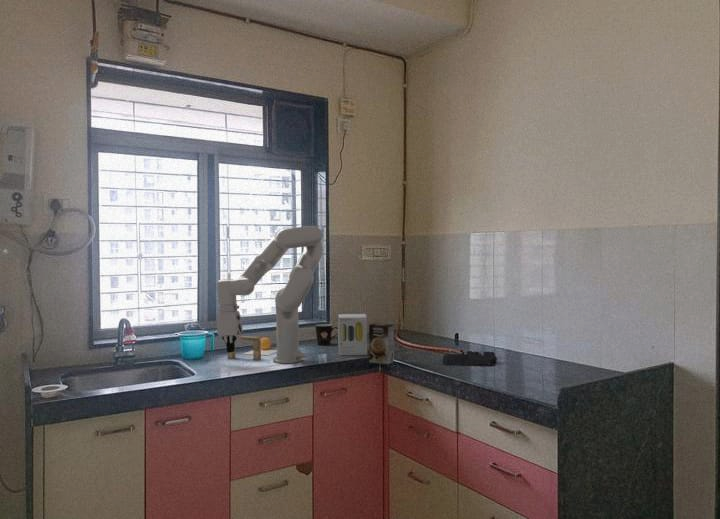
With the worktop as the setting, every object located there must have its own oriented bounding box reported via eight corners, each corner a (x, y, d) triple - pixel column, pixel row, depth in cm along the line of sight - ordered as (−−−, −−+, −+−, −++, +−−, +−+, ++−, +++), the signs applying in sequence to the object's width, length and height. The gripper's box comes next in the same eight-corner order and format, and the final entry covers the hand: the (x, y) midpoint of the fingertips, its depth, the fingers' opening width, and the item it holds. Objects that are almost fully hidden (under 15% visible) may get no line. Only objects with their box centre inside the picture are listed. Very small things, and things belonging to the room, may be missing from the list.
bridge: (231, 357, 235) (231, 335, 235) (260, 358, 230) (260, 337, 230) (227, 358, 232) (227, 336, 232) (257, 360, 227) (257, 338, 227)
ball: (273, 348, 255) (273, 336, 254) (267, 351, 249) (267, 338, 249) (263, 348, 257) (262, 336, 256) (256, 350, 251) (256, 338, 251)
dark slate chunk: (442, 359, 227) (442, 348, 227) (494, 360, 223) (494, 349, 223) (442, 367, 212) (442, 355, 212) (498, 368, 208) (498, 356, 208)
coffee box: (368, 362, 219) (368, 324, 219) (375, 359, 225) (374, 322, 225) (388, 364, 215) (387, 325, 215) (394, 361, 221) (394, 323, 221)
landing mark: (280, 350, 250) (280, 350, 250) (267, 355, 238) (267, 355, 238) (256, 349, 254) (256, 348, 254) (242, 354, 242) (242, 353, 242)
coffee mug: (312, 345, 262) (312, 326, 262) (319, 343, 271) (318, 323, 270) (334, 346, 259) (334, 326, 259) (340, 343, 267) (340, 324, 267)
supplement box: (338, 355, 235) (337, 317, 235) (338, 350, 249) (338, 314, 248) (367, 355, 236) (367, 316, 236) (366, 350, 249) (365, 313, 249)
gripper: (248, 307, 220) (251, 350, 220) (217, 307, 225) (220, 350, 225) (238, 309, 213) (241, 353, 213) (207, 310, 217) (210, 353, 218)
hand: (230, 351), depth 219 cm, fingers closed
